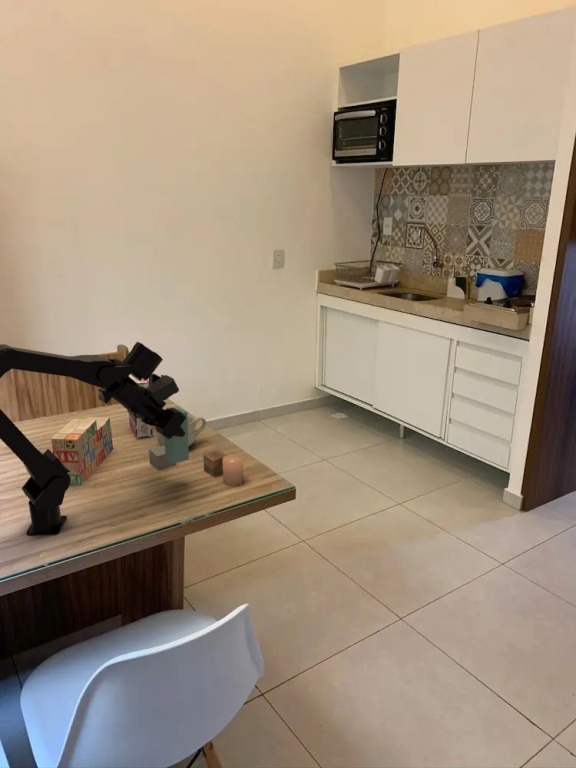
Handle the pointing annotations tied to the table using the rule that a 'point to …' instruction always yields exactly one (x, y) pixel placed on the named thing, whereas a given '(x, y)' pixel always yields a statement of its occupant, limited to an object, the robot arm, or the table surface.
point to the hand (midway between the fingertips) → (179, 432)
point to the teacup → (191, 430)
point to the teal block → (178, 444)
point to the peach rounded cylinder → (233, 469)
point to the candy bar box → (136, 424)
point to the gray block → (159, 458)
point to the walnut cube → (214, 463)
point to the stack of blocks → (83, 446)
